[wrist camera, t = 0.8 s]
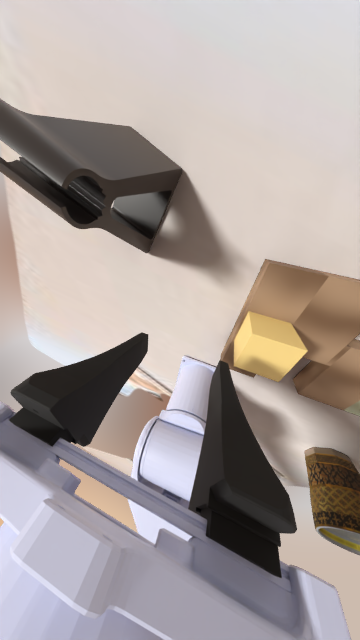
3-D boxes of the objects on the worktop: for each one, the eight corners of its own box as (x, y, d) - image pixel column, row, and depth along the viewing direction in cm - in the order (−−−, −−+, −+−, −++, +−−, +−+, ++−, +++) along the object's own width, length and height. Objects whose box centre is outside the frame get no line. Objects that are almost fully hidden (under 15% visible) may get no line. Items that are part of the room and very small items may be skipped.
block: (269, 352, 18) (278, 382, 15) (234, 340, 19) (233, 366, 15) (291, 323, 16) (307, 350, 12) (248, 311, 16) (252, 333, 13)
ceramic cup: (301, 465, 32) (324, 543, 24) (287, 439, 29) (307, 518, 21) (391, 477, 26) (463, 591, 18) (384, 446, 23) (467, 565, 15)
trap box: (361, 403, 20) (387, 440, 17) (221, 354, 24) (218, 375, 20) (515, 314, 12) (634, 349, 8) (265, 259, 16) (274, 267, 12)
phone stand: (147, 253, 19) (58, 274, 10) (110, 224, 19) (-21, 216, 9) (183, 170, 14) (67, 32, 4) (133, 128, 14) (-114, -122, 4)
